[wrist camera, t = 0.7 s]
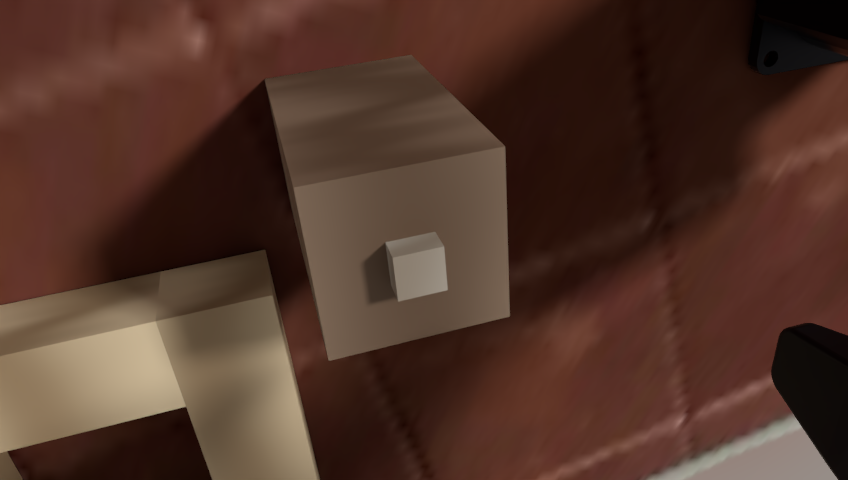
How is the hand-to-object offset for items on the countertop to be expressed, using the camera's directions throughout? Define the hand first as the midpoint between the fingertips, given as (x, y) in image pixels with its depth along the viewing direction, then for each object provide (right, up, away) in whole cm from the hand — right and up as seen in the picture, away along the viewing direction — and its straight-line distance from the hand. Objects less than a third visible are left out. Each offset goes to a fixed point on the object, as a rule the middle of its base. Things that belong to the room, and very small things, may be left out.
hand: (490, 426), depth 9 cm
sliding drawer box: (-3, +5, +10) cm, 12 cm away
